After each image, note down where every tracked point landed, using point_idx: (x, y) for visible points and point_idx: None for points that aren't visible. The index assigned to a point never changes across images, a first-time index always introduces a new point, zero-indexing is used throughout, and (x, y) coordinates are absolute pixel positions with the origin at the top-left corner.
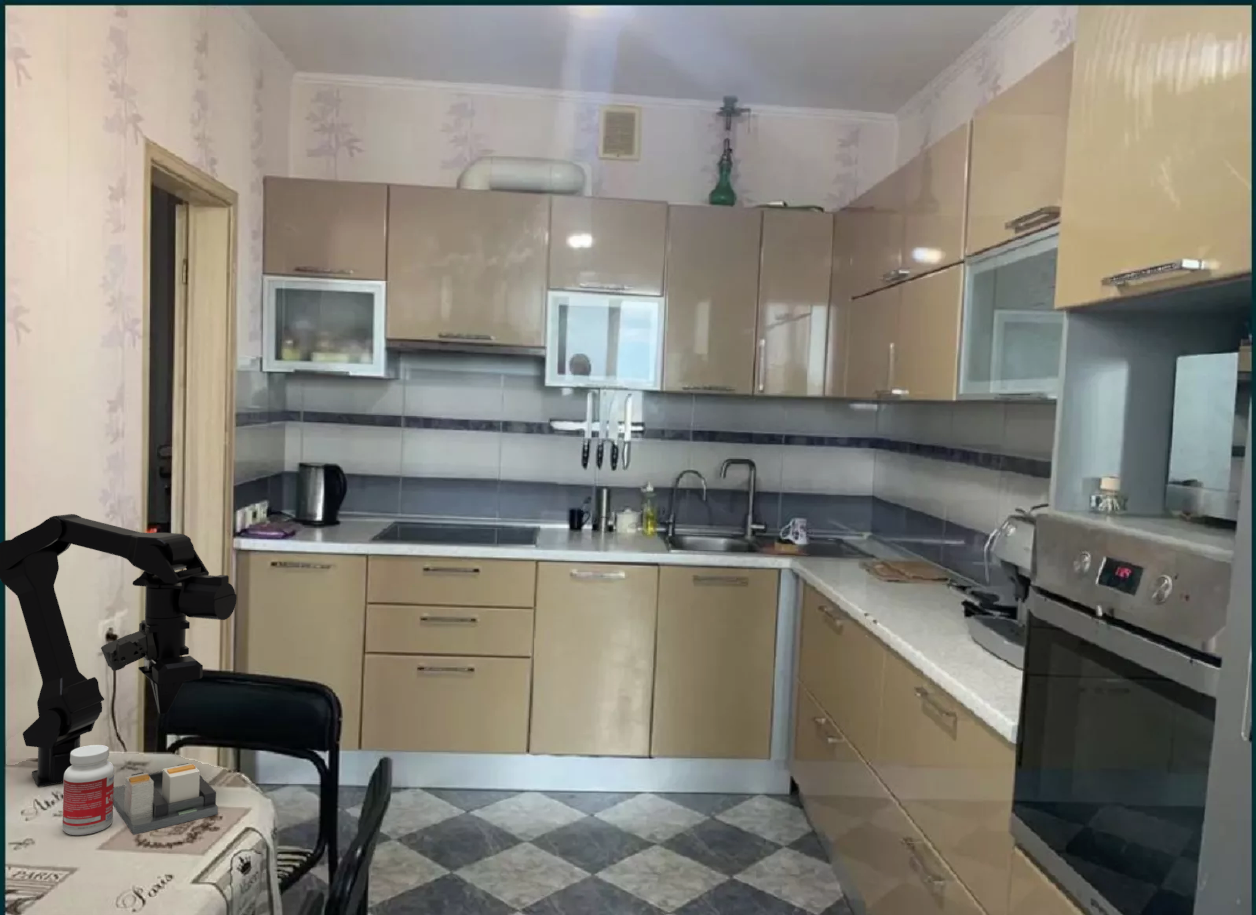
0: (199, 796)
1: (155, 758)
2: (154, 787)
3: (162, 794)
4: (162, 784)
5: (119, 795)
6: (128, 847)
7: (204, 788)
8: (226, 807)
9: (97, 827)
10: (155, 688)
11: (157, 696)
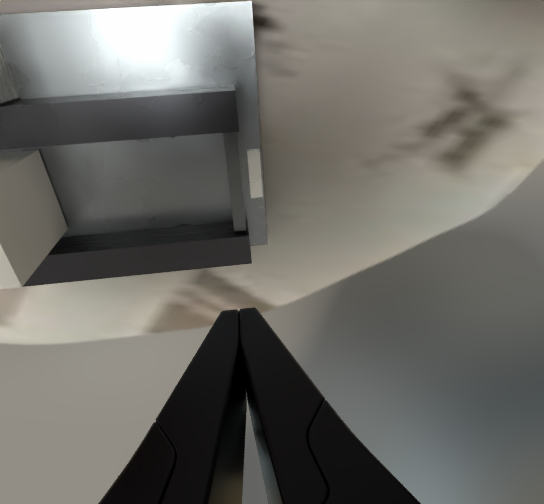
0: None
1: (471, 190)
2: (63, 142)
3: (20, 157)
4: (7, 168)
5: (159, 30)
6: None
7: None
8: None
9: None
10: (195, 477)
11: (178, 409)
